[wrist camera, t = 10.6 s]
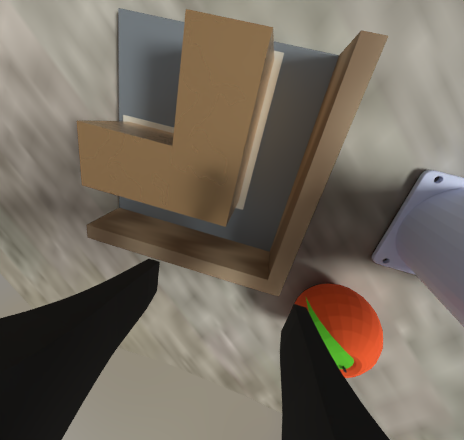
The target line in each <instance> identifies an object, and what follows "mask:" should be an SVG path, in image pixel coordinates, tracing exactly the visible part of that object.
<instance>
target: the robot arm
mask: <svg viewBox="0 0 464 440" xmlns="http://www.w3.org/2000/svg"><path fill="white" fill-rule="evenodd" d="M437 176H439V180H438V181H436V182H434V179H435V178H436V177H437ZM385 258H387V260H385V261H383V259H385ZM372 260H373V261H374V262H375V263H376V264H380V265H383V266H387V267H390V268H394V269H397V270H401V271H404V272H408V273H411V274H415V275H417V277H418V278H419V279H420V280H421V281H422V282H423V283H424V284H425V285H426V286H427V287H428V289H429V290H430V291H431V292H432V293H433V294H434V295H435V296H436V297H437V298H438V299H439V301H440V302H441V303H442V304H443V305H444V306H445V307H446V308H447V309H448V310H449V311H450V313H451V314H452V315H453V316H454V317H455V318H456V319H457V320H458V321H459V322H460V323H461V325H462V326H463V327H464V178H463V177H459V176H455V175H451V174H447V173H443V172H439V171H435V170H426V171H424V172H423V173H422V174H421V175H420V177H419V178H418V180H417V182H416V183H415V185H414V187H413V188H412V190H411V192H410V193H409V195H408V197H407V198H406V200H405V202H404V203H403V205H402V207H401V208H400V210H399V212H398V213H397V215H396V217H395V218H394V220H393V222H392V223H391V225H390V227H389V228H388V230H387V231H386V233H385V235H384V236H383V238H382V240H381V241H380V243H379V245H378V246H377V248H376V250H375V251H374V253H373V255H372ZM159 263H160V262H158V261H155V260H152V259H147V260H145V261H143V262H142V263H140V264H138V265H136V266H134V267H132V268H130V269H129V270H127V271H125V272H123V273H121V274H119V275H117V276H115V277H113V278H111V279H109V280H107V281H105V282H103V283H101V284H99V285H96V286H94V287H92V288H90V289H88V290H85V291H83V292H81V293H78V294H76V295H73V296H70V297H68V298H65V299H62V300H60V301H57V302H54V303H51V304H48V305H45V306H41V307H38V308H35V309H32V310H29V311H26V312H22V313H19V314H15V315H11V316H7V317H4V318H0V440H61V439H62V438H63V436H64V434H65V432H66V431H67V429H68V427H69V425H70V424H71V422H72V420H73V419H74V417H75V415H76V413H77V412H78V410H79V408H80V406H81V405H82V403H83V401H84V400H85V398H86V396H87V395H88V393H89V392H90V390H91V388H92V386H93V385H94V383H95V382H96V380H97V378H98V377H99V375H100V373H101V372H102V370H103V369H104V367H105V365H106V364H107V362H108V361H109V359H110V358H111V356H112V354H113V353H114V352H115V350H116V349H117V347H118V346H119V345H120V343H121V342H122V341H123V339H124V338H125V337H126V335H127V334H128V333H129V332H130V330H131V329H132V328H133V326H134V325H135V324H136V322H137V321H138V320H139V318H140V317H141V316H142V314H143V313H144V312H145V310H146V309H147V307H148V306H149V304H150V302H151V301H152V299H153V297H154V295H155V293H156V292H157V285H158V274H159ZM280 367H281V388H282V414H283V416H282V440H390V439H389V438H388V437H387V436H386V434H385V433H384V432H383V431H382V429H381V428H380V427H379V425H378V424H377V423H376V421H375V420H374V419H373V418H372V416H371V415H370V414H369V412H368V411H367V409H366V408H365V407H364V405H363V404H362V403H361V401H360V400H359V398H358V397H357V395H356V394H355V392H354V391H353V389H352V388H351V387H350V385H349V384H348V382H347V381H346V379H345V377H344V376H343V374H342V373H341V371H340V369H339V368H338V366H337V364H336V363H335V361H334V359H333V358H332V356H331V354H330V352H329V350H328V349H327V347H326V345H325V343H324V341H323V339H322V337H321V336H320V334H319V332H318V330H317V328H316V326H315V324H314V322H313V320H312V318H311V316H310V314H309V312H308V310H307V308H306V307H303V306H300V305H296V304H294V305H293V308H292V310H291V312H290V314H289V316H288V318H287V320H286V322H285V325H284V327H283V329H282V331H281V342H280Z"/></svg>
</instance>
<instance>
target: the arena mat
mask: <svg viewBox="0 0 464 440" xmlns="http://www.w3.org/2000/svg"><path fill="white" fill-rule="evenodd" d="M184 23H185V22H181V21H176V20H172V19H167V18H162V17H158V16H153V15H149V14H144V13H139V12H135V11H130V10H125V9H121V8H119V121H124V122H132V123H136V124H140V125H144V126H148V127H152V128H155V129H159V130H163V131H167V132H171V133H174V125H175V115H176V105H177V95H178V85H179V74H180V64H181V54H182V44H183V34H184ZM338 57H339V55H335V54H330V53H325V52H321V51H316V50H312V49H307V48H302V47H298V46H293V45H288V44H284V43H279V42H274V62H273V66H272V70H271V74H270V78H269V82H268V86H267V90H266V94H265V98H264V102H263V106H262V110H261V114H260V118H259V122H258V126H257V130H256V134H255V138H254V142H253V146H252V150H251V154H250V158H249V162H248V166H247V170H246V174H245V178H244V182H243V186H242V190H241V194H240V198H239V202H238V204H237V206H236V208H235V210H234V212H233V214H232V216H231V218H230V220H229V221H228V223H227V225H226V227H224V226H221V225H217V224H214V223H211V222H207V221H204V220H200V219H197V218H193V217H190V216H186V215H183V214H180V213H176V212H173V211H169V210H166V209H162V208H159V207H155V206H152V205H149V204H145V203H142V202H138V201H135V200H131V199H128V198H124V197H121V196H119V208H123V209H126V210H129V211H133V212H136V213H140V214H143V215H146V216H150V217H153V218H157V219H160V220H163V221H167V222H170V223H174V224H177V225H180V226H184V227H187V228H191V229H194V230H197V231H201V232H204V233H208V234H211V235H214V236H218V237H221V238H225V239H228V240H231V241H235V242H238V243H242V244H245V245H248V246H252V247H255V248H259V249H262V250H265V251H269V252H270V249H271V246H272V244H273V241H274V238H275V235H276V232H277V230H278V227H279V224H280V221H281V218H282V215H283V213H284V210H285V207H286V204H287V201H288V198H289V196H290V193H291V190H292V187H293V184H294V181H295V179H296V176H297V173H298V170H299V167H300V165H301V162H302V159H303V156H304V153H305V150H306V148H307V145H308V142H309V139H310V136H311V133H312V131H313V128H314V125H315V122H316V119H317V117H318V114H319V111H320V108H321V105H322V102H323V100H324V97H325V94H326V91H327V88H328V85H329V83H330V80H331V77H332V74H333V71H334V68H335V66H336V63H337V60H338Z"/></svg>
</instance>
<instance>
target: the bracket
mask: <svg viewBox="0 0 464 440" xmlns="http://www.w3.org/2000/svg"><path fill="white" fill-rule="evenodd" d="M273 62H274V40H273V27H269V26H264V25H259V24H254V23H250V22H245V21H240V20H235V19H231V18H226V17H221V16H216V15H212V14H207V13H202V12H197V11H193V10H188V9H186V13H185V23H184V34H183V44H182V54H181V64H180V74H179V85H178V95H177V105H176V115H175V125H174V133H171V132H167V131H163V130H159V129H155V128H152V127H148V126H144V125H140V124H136V123H132V122H124V121H77V131H78V143H79V156H80V168H81V180H82V185H83V186H87V187H90V188H93V189H97V190H100V191H104V192H107V193H111V194H114V195H118V196H121V197H124V198H128V199H131V200H135V201H138V202H142V203H145V204H149V205H152V206H155V207H159V208H162V209H166V210H169V211H173V212H176V213H180V214H183V215H186V216H190V217H193V218H197V219H200V220H204V221H207V222H211V223H214V224H217V225H221V226H224V227H226V225H227V223H228V221H229V220H230V218H231V216H232V214H233V212H234V210H235V208H236V206H237V204H238V202H239V198H240V194H241V190H242V186H243V182H244V178H245V174H246V170H247V166H248V162H249V158H250V154H251V150H252V146H253V142H254V138H255V134H256V130H257V126H258V122H259V118H260V114H261V110H262V106H263V102H264V98H265V94H266V90H267V86H268V82H269V78H270V74H271V70H272V66H273Z"/></svg>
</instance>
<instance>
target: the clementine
mask: <svg viewBox="0 0 464 440" xmlns="http://www.w3.org/2000/svg"><path fill="white" fill-rule="evenodd" d="M295 304H296V305H300V306H303V307H306V308H307V310H308V312H309V314H310V316H311V318H312V320H313V322H314V324H315V326H316V328H317V330H318V332H319V334H320V336H321V337H322V339H323V341H324V343H325V345H326V347H327V349H328V350H329V352H330V354H331V356H332V358H333V359H334V361H335V363H336V364H337V366H338V368H339V369H340V371H341V373H342V374H343V376H344V377H345V378H350V377H356V376H359V375H361V374H363V373H365V372H366V371H368V370H370V369H371V368H372V367H373V366H374V365H375V364H376V362H377V360H378V358H379V356H380V354H381V351H382V349H383V330H382V327H381V324H380V321H379V319H378V316H377V314H376V312H375V311H374V309H373V308H372V307H371V305H370V304H369V303H368V302H367V301H366V300H365V299H364V298H363V297H362V296H361V295H359V294H358V293H356V292H355V291H353V290H351V289H350V288H348V287H344V286H341V285H337V284H328V283H327V284H319V285H316V286H313V287H311V288H309V289H307V290H305V291H304V292H303V293H302V294H301V295H300V296H299V297H298V298H297V300H296V302H295ZM292 308H293V307H292Z"/></svg>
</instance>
